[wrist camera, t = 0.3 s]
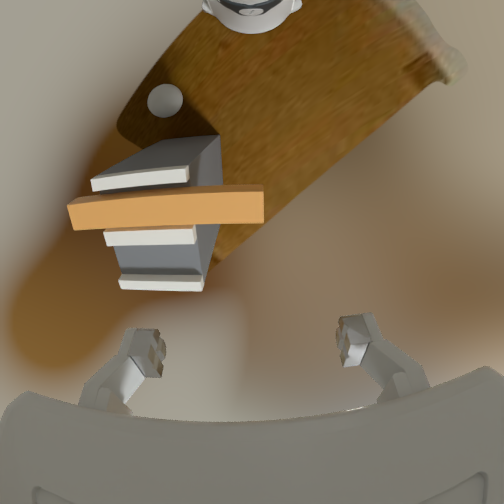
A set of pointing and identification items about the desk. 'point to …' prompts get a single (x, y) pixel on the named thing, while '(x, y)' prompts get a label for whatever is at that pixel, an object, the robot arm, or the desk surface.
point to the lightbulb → (165, 100)
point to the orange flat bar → (170, 207)
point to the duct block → (168, 236)
